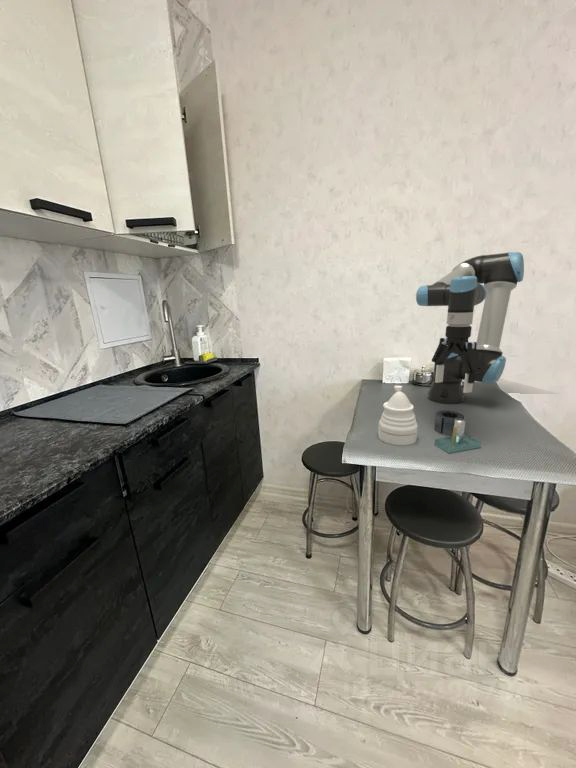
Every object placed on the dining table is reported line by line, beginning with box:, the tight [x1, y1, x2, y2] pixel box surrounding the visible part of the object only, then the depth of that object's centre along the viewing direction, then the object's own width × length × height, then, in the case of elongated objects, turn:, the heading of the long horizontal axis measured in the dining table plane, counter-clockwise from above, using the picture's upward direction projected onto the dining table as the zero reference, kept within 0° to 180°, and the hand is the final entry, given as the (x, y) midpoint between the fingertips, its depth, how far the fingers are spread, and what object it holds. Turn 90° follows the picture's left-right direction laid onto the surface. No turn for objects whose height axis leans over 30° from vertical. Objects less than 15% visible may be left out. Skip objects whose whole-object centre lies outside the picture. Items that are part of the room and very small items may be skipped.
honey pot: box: [377, 385, 419, 446], centre depth 108 cm, size 13×13×18 cm
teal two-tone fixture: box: [434, 419, 482, 454], centre depth 101 cm, size 12×6×9 cm, turn 104°
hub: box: [433, 409, 465, 437], centre depth 113 cm, size 9×9×6 cm
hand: (452, 387), depth 110 cm, fingers open, 13 cm apart
